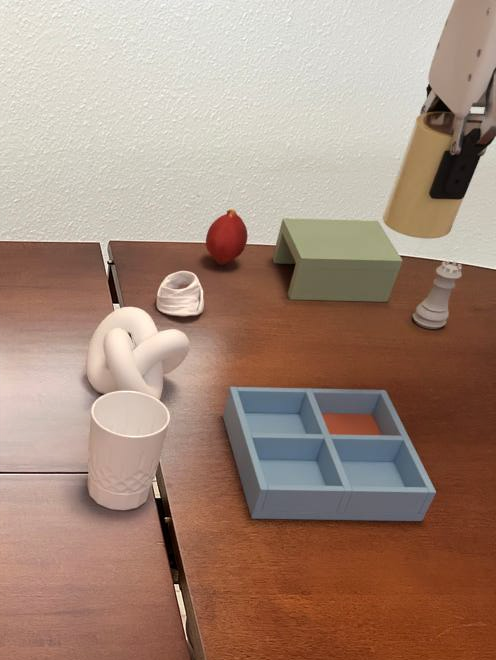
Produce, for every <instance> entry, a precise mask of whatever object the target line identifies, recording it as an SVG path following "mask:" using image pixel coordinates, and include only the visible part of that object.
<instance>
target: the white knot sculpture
mask: <svg viewBox="0 0 496 660" xmlns="http://www.w3.org/2000/svg"><path fill="white" fill-rule="evenodd" d="M131 336H132V337H131ZM132 339H133V340H132ZM133 341H134V343H133ZM189 351H190V340H189V338H188V337H187V335H186V333H185V332H183V331H181V330H179V329H177V328H170V329H169V328H168V329H165V330H160V331H159V330H158V328H157V325H156V323H155V321H154V320H153V318H152V316H151V315H150V314H149V313H148V312H147V311H145V310H144V309H142V308H140V307H135V306H123V307H120V308H117V309H115V310H113V311H111V313H109V314H108V315H107V316H106V317H104V318H103V320H102V321H100V323H99V325H98V326H97V328H96V329H95V331H94V333H93V334H92V336H91V339H90V342H89V344H88V347H87V351H86V355H85V371H86V372H85V373H86V376H87V380H88V381H89V383H90V385H91V386H92V388H93V389H94V390H95V391H96V392H98V393H100V394H103V395H105V394H107V393H111V392H115V391H136V392H141V393H145V394H148V395H150V396H152V397H154V398H156V399H158V400H159V401H161V397H162V394H163V387H164V376H166V375H168V374H170V373H171V372H173V371H174V370H176V369H177V368H178V367H179V366H180V365H182V363H183V362H184V360H185V359H186V357H187V356H188V353H189Z"/></svg>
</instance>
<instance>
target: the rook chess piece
mask: <svg viewBox="0 0 496 660" xmlns="http://www.w3.org/2000/svg"><path fill="white" fill-rule="evenodd" d="M450 262H451V261H450V260H445V261H442V263H441V265H439V266H438V267H437V268H436V269H435V272H436V275H437V276H436V278H434V279H433V281H432V282H433V284H432V287H431V289H430V291H429V293H428V294H427V296H426V298H425V299H423V300H422V301H421V303H419V304H418V305H417V306H416V308H415V311H414V313H413V314H412V318H413V321H414V322H415V324H416V325H417V326H420V327H421V328H423V329H424V328H425V329H430V330H437V329H440V328H442V327H444V326H445V325H446V324H447V319H448V318H449V316H450V313H449V311H450V310H449V300H450V296H451V293H452V290H453V289H454V288H455V287H456V283H455V282H456V281H457V280H458V279H460V278H461V277H462V275H463V274H462V264H460V263H458V262H457V261H454V260H452V263H451V264H450ZM457 263H458V264H457Z"/></svg>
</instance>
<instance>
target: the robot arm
mask: <svg viewBox="0 0 496 660" xmlns="http://www.w3.org/2000/svg"><path fill="white" fill-rule="evenodd" d="M427 80H428V84H427V86H426V99H425V101H424V102H423V104H422V106H421V108H420V112H419V115H421V114H424V113H428V112H452V113H454V114H455V115H456V116H457V118H456V123H455V128H454V133H453V138H452V143H451V148H450V151H445V152H444V154H443V157H442V160H441V162H440V165H439V168H438V170H437V173H436V176H435V178H434V181H433V184H432V186H431V189H430V192H429V195H430V197H431V198H432V199H455V200H460V199H462V198H465V196H466V194H467V191H468V189H469V187H470V184H471V182H472V179H473V177H474V174H475V172H476V169H477V168H478V167H477V166H478V164H479V162H480V159H481V157H483V156H484V155H485V154H486V152H487V150H488V147H489V146H490V145H491V144H492V143H493V141H494V140H495V138H496V0H454V1H453V3H452V5H451V7H450V10H449V13H448V15H447V18H446V21H445V23H444V26H443V29H442V31H441V34H440V37H439V39H438V42H437V45H436V48H435V51H434V55H433V57H432V60H431V64H430V67H429V72H428V79H427ZM472 108H484V109H483V113H478V112H477V113H474V112H472V111H471V109H472ZM467 123H480V125H479V128H474V129H472V130H471V131H470V132H469V133H468V134H467V135H466V136H465V132H466V127H467Z"/></svg>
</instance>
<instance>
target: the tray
mask: <svg viewBox="0 0 496 660" xmlns="http://www.w3.org/2000/svg"><path fill="white" fill-rule="evenodd" d="M222 419H223V421H224V426H225V429H226V433H227V436H228V439H229V444H230V447H231V450H232V454H233V458H234V462H235V464H236V469H237V472H238V476H239V478H240V479H239V480H240V482H241V487H242V489H243V490H242V491H243V493H244V498H245V500H246V504H247V507H248V511H249V515H250V518H251V519H253V520H254V519H255V520H257V519H259V520H316V521H318V520H320V521H321V520H322V521H324V520H325V521H381V522H382V521H384V522H385V521H386V522H387V521H388V522H422V521H423V520H424V519H425V516H426V514H427V512H428V509H429V508H430V506H431V504H432V502H433V500H434V498H435V496H436V494H437V491H436V488H435V486H434V485H433V482H432V480H431V478H430V477H429V475H428V473H427V471H426V469H425V466H424V464H423V463H422V460H421V459H420V456H419V454H418V452H417V451H416V448H415V447H414V444H413V443H412V442H413V441H412V440H411V439H410V436H409V435H408V432H407V430H406V428H405V426H404V424H403V422H402V421H401V418H400V415H399V414H398V412H397V410H396V408H395V407H394V405H393V402H392V400H391V397H390V396H389V394H388V392H387V391H386V389H359V388H358V389H355V388H353V389H351V388H311V387H309V388H307V387H262V386H261V387H260V386H259V387H257V386H230V387H229V388H228V392H227V396H226V401H225V405H224V409H223V412H222Z"/></svg>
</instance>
